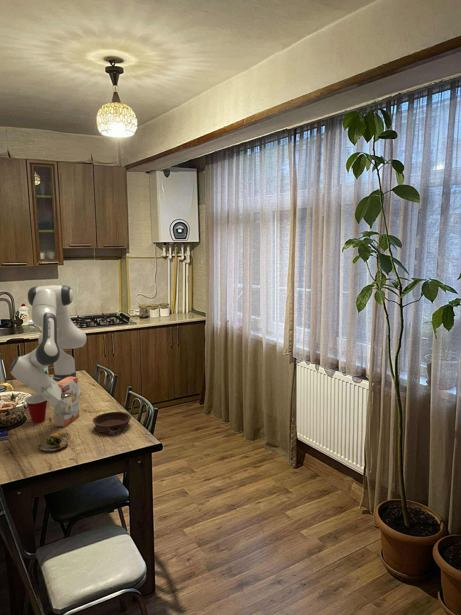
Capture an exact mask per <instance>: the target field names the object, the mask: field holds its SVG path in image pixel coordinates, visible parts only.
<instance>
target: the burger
mask: <svg viewBox="0 0 461 615" xmlns="http://www.w3.org/2000/svg"><path fill="white" fill-rule="evenodd" d="M68 447H69V442H68V440H67V439H65V438H62V437H61V435H60V434H59V433H57V432H56V433H53V434H50V435H49V438H46V439H45V440H44V441H43V442H41V443H39V445H38V449H39V450H42V451H45V452H54V451H57V450H59V451H60V452H63V451H64V450H65V449H66V448H68Z"/></svg>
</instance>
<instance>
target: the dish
mask: <svg viewBox="0 0 461 615" xmlns="http://www.w3.org/2000/svg"><path fill="white" fill-rule="evenodd" d="M131 417H132V416H131V414H129V413H128V412H125V411H109V412H105V413H102V414H98V415H96V416H95V417H94V418H93V419H92V422H93V424H94V427H95V428H96V430H97V431H99V432H100V433H103V434H111V435H118V434H119V433H120V432H122V431H124V430H125V429H127V428H128V426H129V423H130V420H132V418H131Z"/></svg>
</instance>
